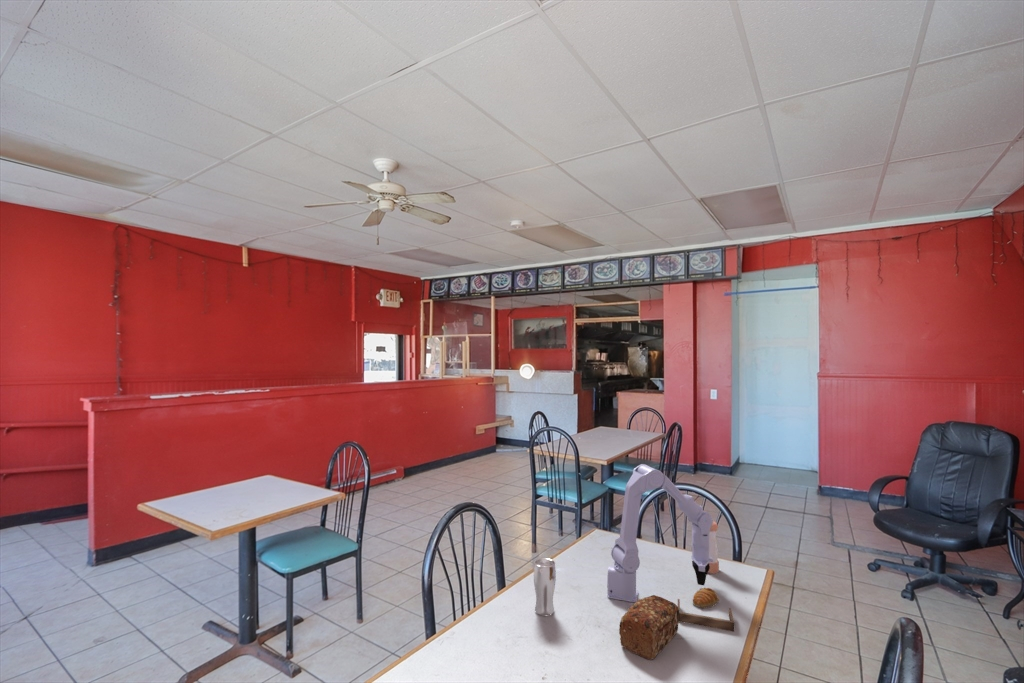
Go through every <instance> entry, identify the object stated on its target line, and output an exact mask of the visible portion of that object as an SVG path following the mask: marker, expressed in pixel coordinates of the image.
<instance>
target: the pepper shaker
mask: <svg viewBox="0 0 1024 683" xmlns="http://www.w3.org/2000/svg"><path fill="white" fill-rule="evenodd" d="M718 529H719V526H718V523H717V522H716V521H715V520H713V524H712V526H711V528H710V532H709V554H710V558H713V562H709V566H710V569H709V571H708V573H707V574H717V572H718V573H719V570H720V566H719V563H720V562H719V560H718V558H719V557H718V556H719V554H718V553H719V551H718V547H717V546H718V545H717V530H718Z"/></svg>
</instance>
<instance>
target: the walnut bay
mask: <svg viewBox="0 0 1024 683" xmlns="http://www.w3.org/2000/svg"><path fill="white" fill-rule="evenodd" d="M680 602H681V600H680V598H677V607H678V608H679V621H680V622H679V623H684V622H685V624H689V623H690V625H695V626H701V627H706V628H712V629H718V630H723V631H728V632H735V620H734V616H733V611H732V608H731V607H728V619H729V620H728V619H724V618H719V617H714V616H713V617H711V616H706V615H703V614H702V615H700V614H695V613H689V612H684V611H681V609H680V608H681V607H680V604H681V603H680Z"/></svg>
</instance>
